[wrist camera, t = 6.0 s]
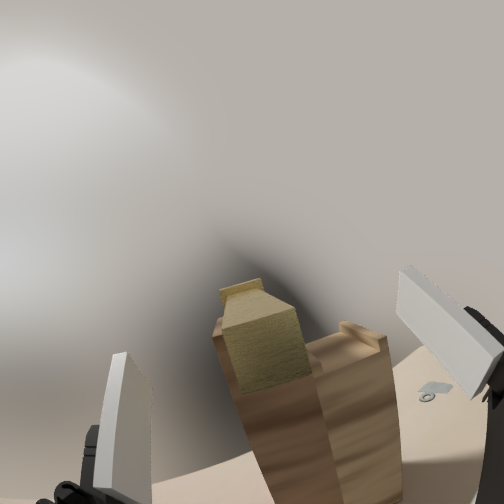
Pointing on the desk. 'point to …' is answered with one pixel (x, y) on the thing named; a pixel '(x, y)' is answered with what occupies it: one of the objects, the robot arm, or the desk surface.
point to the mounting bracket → (433, 390)
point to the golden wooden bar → (262, 338)
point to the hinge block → (327, 423)
